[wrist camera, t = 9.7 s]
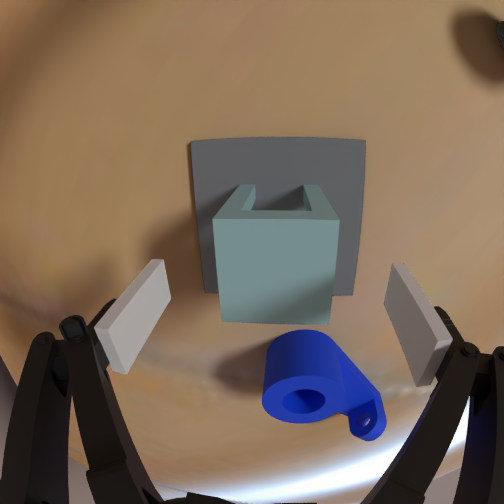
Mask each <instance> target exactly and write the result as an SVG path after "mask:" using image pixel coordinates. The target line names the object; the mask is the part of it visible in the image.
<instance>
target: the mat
mask: <svg viewBox="0 0 504 504" xmlns="http://www.w3.org/2000/svg"><path fill="white" fill-rule="evenodd" d="M191 153H192V168H193V181H194V194H195V205H196V216H197V227H198V237H199V246H200V255H201V264H202V273H203V281H204V289H205V293H219V288H218V278H217V267H216V256H215V244H214V232H213V218H214V216H215V215H216V214H217V213H218V211H219V210H220V209H221V208H222V206H223V205H224V204H225V203H226V201H227V200H228V199H229V198H230V196H231V195H232V194H233V193H234V191H235V190H236V189H237V188H238V186H239V185H252V184H255V197H256V199H255V202H254V204H253V207H252V209H251V210H277V211H306V208H305V205H304V201H303V185H319V187H320V188H321V190H322V191H323V193H324V195H325V196H326V198H327V200H328V201H329V203H330V205H331V206H332V208H333V210H334V211H335V213H336V215H337V217H338V218H339V220H340V223H339V236H338V248H337V259H336V269H335V278H334V287H333V295H332V296H341V295H353V289H354V283H355V276H356V268H357V261H358V252H359V243H360V234H361V224H362V212H363V198H364V182H365V157H366V141H365V140H353V139H338V138H315V137H250V138H227V139H211V140H198V141H191Z"/></svg>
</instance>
